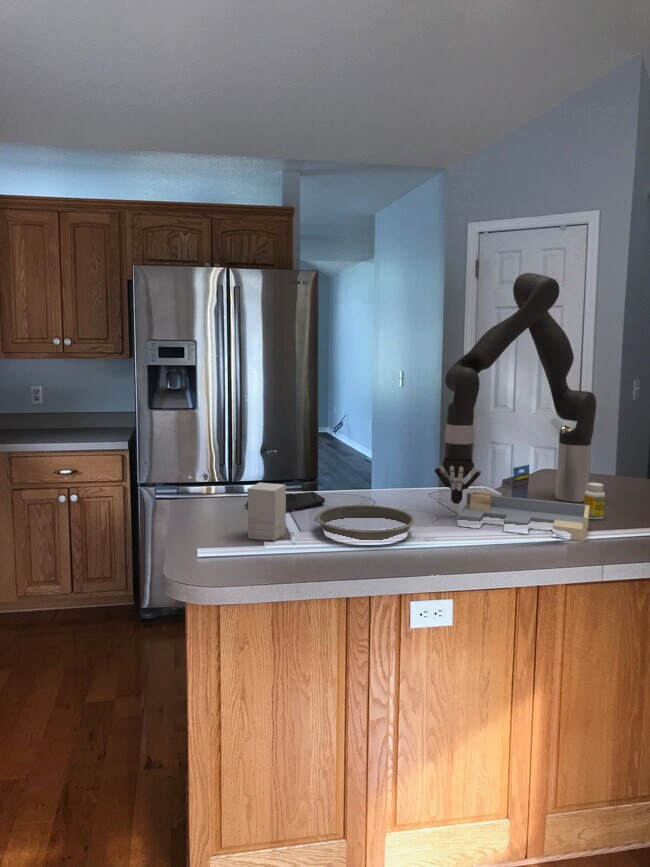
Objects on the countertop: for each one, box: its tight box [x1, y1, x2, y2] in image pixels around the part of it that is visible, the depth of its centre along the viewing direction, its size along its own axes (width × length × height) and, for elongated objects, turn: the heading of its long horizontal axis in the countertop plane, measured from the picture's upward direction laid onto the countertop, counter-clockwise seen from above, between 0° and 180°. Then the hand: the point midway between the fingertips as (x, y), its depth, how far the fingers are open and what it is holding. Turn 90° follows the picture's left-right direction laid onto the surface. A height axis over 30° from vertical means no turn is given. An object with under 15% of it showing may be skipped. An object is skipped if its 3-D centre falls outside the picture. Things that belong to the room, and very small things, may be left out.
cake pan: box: [315, 504, 416, 540], centre depth 186 cm, size 25×25×4 cm
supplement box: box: [247, 482, 287, 541], centre depth 180 cm, size 7×7×13 cm
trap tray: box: [456, 492, 590, 542], centre depth 194 cm, size 14×32×6 cm, turn 69°
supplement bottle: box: [583, 482, 606, 520], centre depth 204 cm, size 5×5×10 cm
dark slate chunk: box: [244, 491, 326, 512], centre depth 212 cm, size 15×22×5 cm
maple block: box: [470, 490, 493, 511], centre depth 200 cm, size 5×5×4 cm
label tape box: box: [500, 464, 530, 499], centre depth 215 cm, size 9×4×12 cm, turn 135°
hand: (456, 502), depth 203 cm, fingers closed
